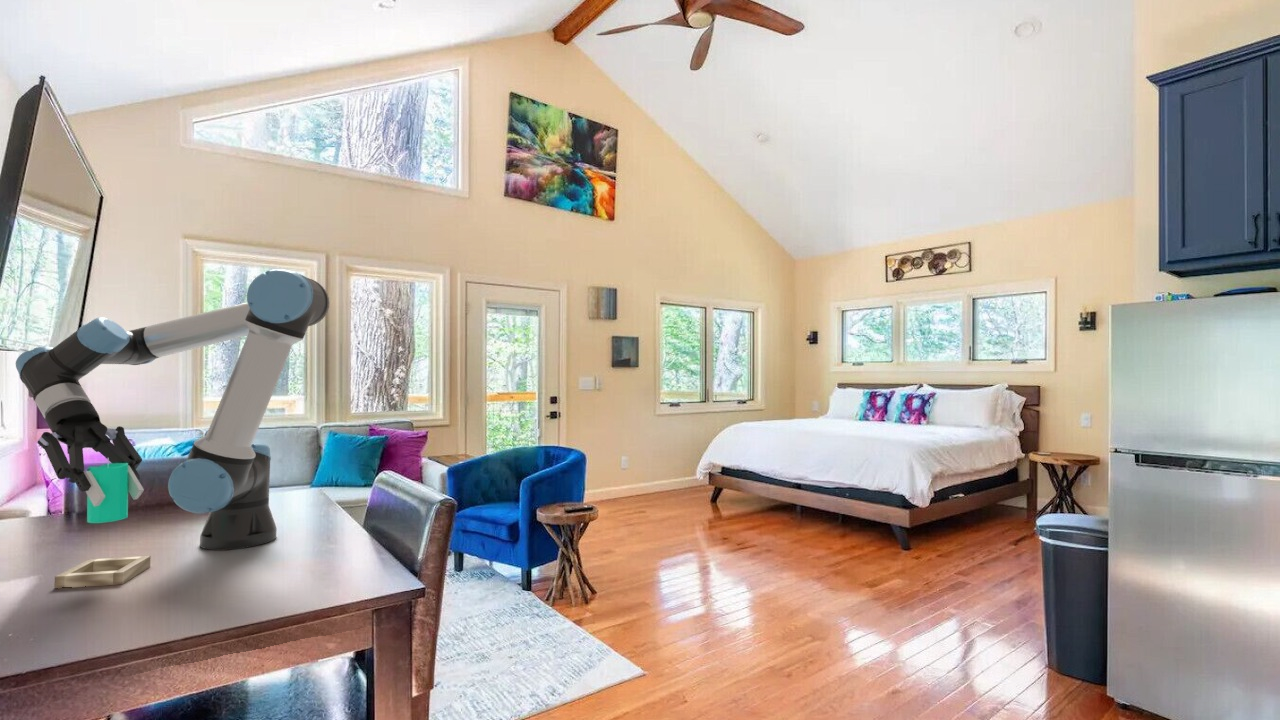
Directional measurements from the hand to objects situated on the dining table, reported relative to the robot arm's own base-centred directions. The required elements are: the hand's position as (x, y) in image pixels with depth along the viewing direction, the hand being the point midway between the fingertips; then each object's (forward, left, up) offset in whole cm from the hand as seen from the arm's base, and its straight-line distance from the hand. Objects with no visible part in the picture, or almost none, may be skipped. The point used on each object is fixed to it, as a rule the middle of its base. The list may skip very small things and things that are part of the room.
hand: (119, 497), depth 118 cm
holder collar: (+3, -2, -16) cm, 16 cm away
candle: (+3, -2, -5) cm, 6 cm away
